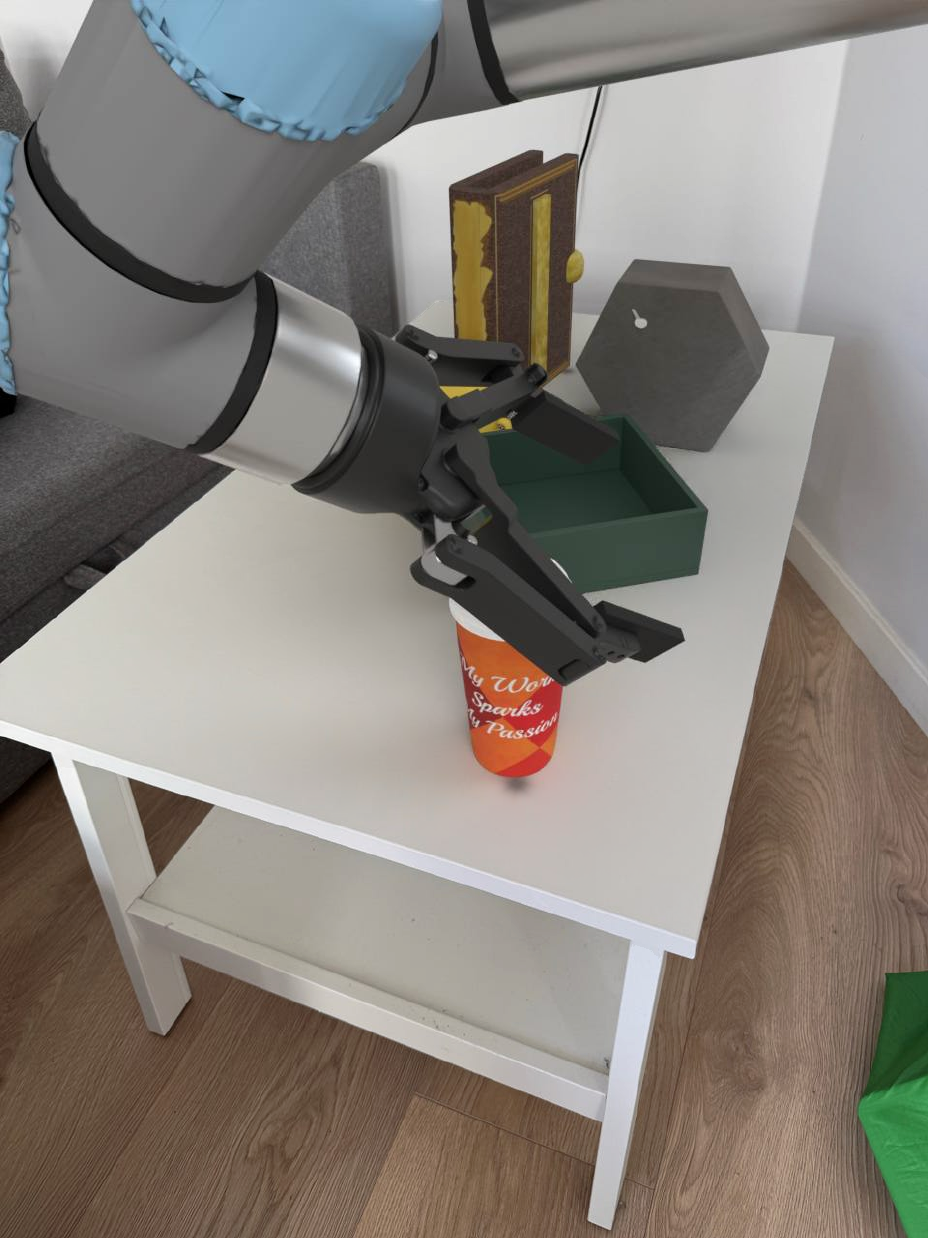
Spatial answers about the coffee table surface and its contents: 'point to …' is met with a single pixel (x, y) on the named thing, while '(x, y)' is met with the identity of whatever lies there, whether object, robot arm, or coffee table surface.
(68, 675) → the coffee table surface
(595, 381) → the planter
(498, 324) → the book
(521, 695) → the coffee cup
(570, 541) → the bin
